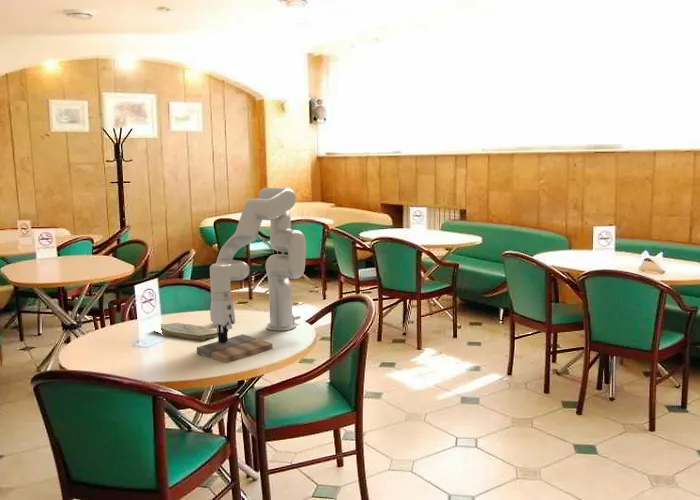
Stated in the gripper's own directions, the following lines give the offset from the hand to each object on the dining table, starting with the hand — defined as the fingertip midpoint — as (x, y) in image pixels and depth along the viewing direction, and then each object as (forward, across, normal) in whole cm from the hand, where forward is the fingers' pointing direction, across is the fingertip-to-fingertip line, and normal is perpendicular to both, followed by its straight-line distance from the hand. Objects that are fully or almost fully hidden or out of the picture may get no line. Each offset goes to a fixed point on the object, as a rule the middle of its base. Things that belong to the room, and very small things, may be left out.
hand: (223, 341), depth 251 cm
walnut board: (+2, -12, 0) cm, 12 cm away
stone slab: (+3, +27, -1) cm, 28 cm away
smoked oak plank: (+2, -2, 0) cm, 3 cm away
